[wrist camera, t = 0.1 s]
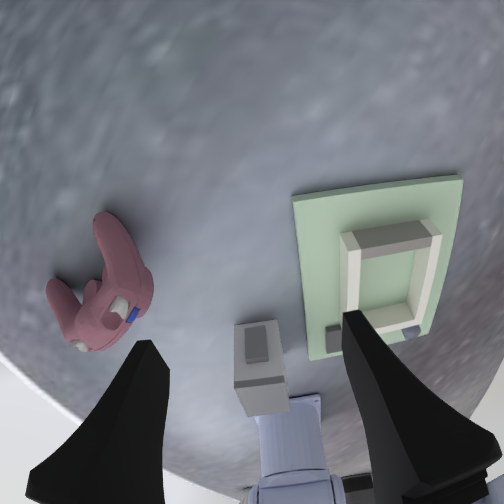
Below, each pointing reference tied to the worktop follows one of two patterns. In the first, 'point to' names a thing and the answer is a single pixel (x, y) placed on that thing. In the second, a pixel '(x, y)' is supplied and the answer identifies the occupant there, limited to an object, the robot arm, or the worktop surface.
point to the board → (375, 257)
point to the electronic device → (359, 489)
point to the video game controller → (104, 292)
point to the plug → (260, 369)
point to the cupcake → (245, 496)
